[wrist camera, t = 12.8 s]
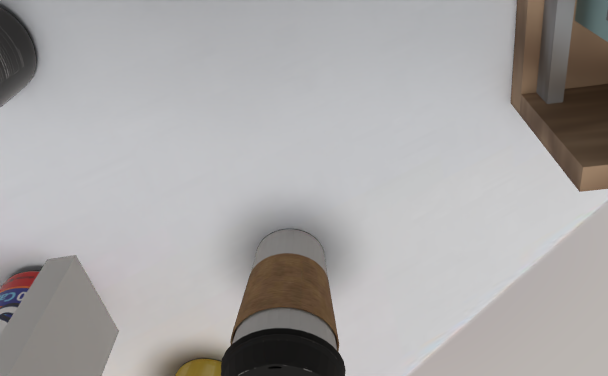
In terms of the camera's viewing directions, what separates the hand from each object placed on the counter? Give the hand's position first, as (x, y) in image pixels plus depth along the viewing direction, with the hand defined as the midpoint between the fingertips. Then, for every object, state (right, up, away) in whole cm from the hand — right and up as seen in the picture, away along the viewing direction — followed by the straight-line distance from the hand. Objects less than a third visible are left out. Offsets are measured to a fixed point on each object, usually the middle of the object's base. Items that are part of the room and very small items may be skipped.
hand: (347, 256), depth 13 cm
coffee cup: (-2, -4, +34) cm, 34 cm away
